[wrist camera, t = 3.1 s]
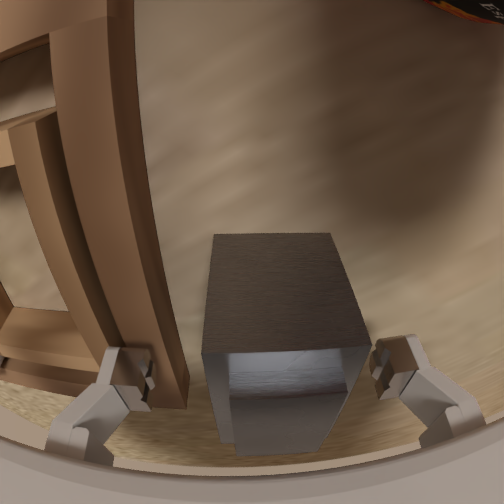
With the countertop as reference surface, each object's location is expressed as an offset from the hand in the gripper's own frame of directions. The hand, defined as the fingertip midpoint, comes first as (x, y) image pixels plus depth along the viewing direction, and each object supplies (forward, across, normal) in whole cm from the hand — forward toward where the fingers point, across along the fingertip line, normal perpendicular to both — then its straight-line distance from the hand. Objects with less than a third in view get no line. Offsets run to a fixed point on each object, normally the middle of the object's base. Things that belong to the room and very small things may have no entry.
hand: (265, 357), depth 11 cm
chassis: (+3, +10, -3) cm, 11 cm away
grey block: (+3, 0, 0) cm, 3 cm away
